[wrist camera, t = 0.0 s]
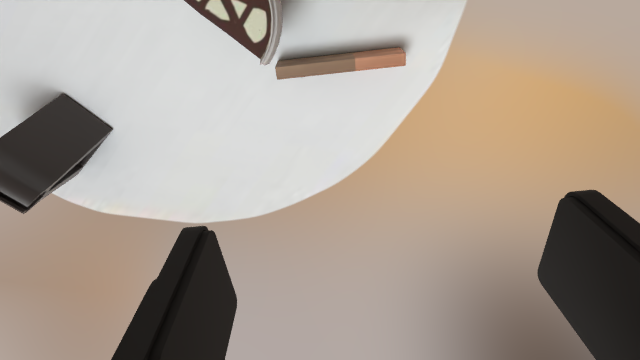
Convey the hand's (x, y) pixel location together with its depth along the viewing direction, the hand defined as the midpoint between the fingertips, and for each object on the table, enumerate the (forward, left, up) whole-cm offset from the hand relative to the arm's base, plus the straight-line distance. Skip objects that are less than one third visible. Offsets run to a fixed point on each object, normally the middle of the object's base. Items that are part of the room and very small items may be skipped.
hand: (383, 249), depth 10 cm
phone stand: (+7, -32, -32) cm, 45 cm away
